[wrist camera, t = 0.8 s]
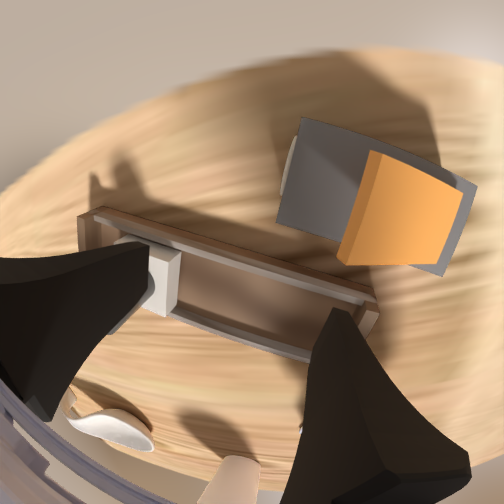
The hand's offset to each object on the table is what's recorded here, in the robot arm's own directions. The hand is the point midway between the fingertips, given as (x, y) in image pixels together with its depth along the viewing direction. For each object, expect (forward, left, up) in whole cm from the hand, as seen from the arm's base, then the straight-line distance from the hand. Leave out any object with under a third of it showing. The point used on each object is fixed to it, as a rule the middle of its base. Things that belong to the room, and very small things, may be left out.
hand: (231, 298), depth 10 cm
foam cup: (-40, -5, -10) cm, 42 cm away
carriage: (-6, +9, -9) cm, 14 cm away
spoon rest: (-43, +21, -11) cm, 49 cm away
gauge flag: (+4, -6, -3) cm, 8 cm away
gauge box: (+4, -5, -10) cm, 12 cm away
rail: (-6, +4, -10) cm, 13 cm away
